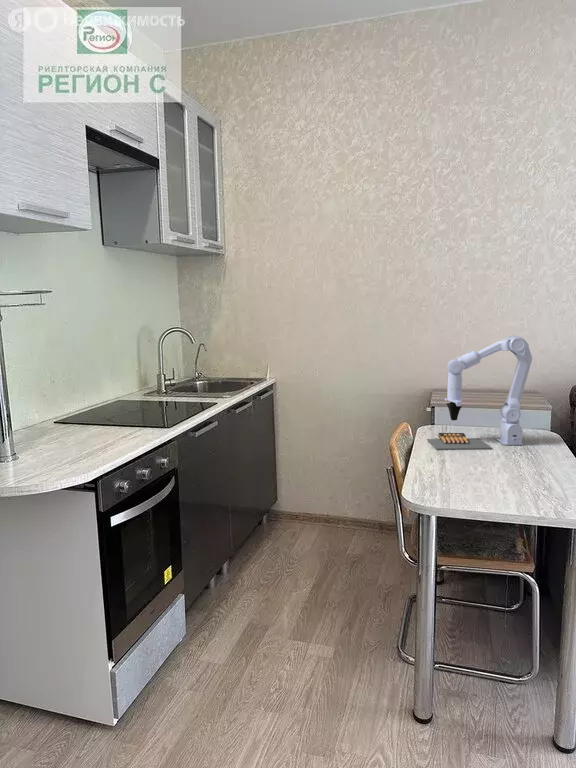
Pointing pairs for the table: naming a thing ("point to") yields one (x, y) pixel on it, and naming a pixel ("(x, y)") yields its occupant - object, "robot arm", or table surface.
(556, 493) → the table surface
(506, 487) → the table surface
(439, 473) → the table surface
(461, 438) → the ammunition clip
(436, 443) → the mat
